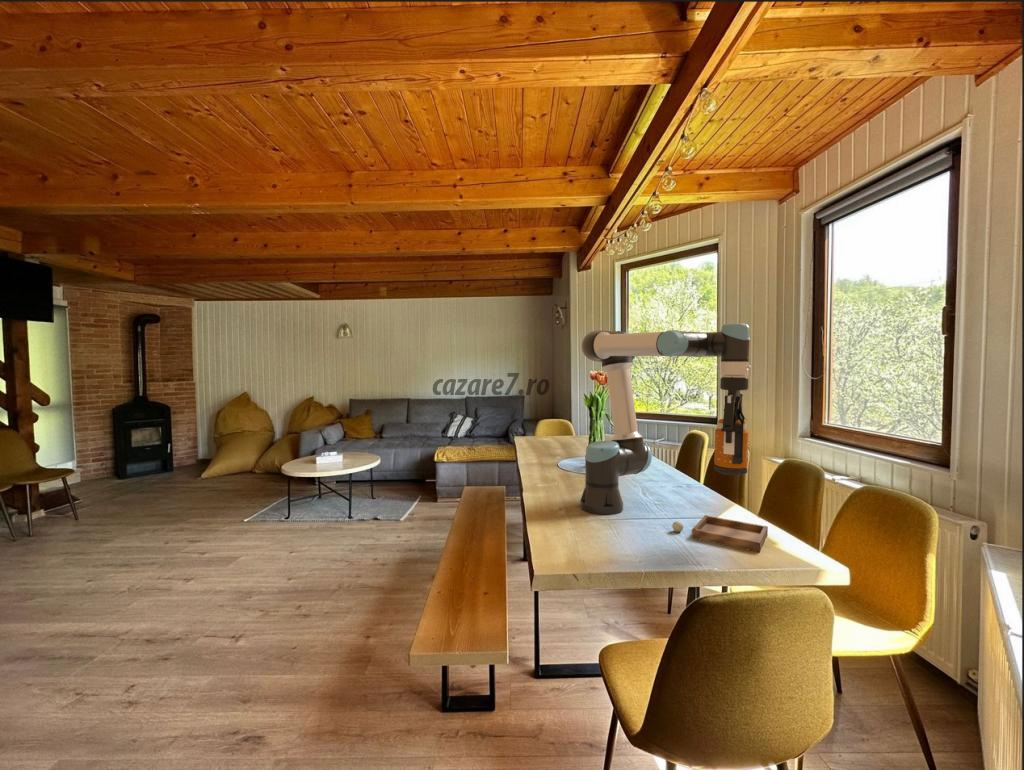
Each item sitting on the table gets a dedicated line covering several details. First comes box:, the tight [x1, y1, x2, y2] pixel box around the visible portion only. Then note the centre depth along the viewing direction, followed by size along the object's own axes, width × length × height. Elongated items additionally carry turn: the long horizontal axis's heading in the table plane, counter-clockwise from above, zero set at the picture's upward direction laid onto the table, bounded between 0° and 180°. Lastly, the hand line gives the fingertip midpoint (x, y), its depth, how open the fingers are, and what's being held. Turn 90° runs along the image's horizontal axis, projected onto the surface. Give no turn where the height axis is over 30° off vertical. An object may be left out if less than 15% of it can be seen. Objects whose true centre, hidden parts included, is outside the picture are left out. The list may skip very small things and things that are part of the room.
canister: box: [713, 407, 749, 477], centre depth 139 cm, size 9×11×20 cm
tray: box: [691, 514, 769, 553], centre depth 141 cm, size 18×16×3 cm
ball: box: [671, 520, 684, 533], centre depth 145 cm, size 3×3×3 cm
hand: (732, 451), depth 140 cm, fingers closed on canister, 10 cm apart
